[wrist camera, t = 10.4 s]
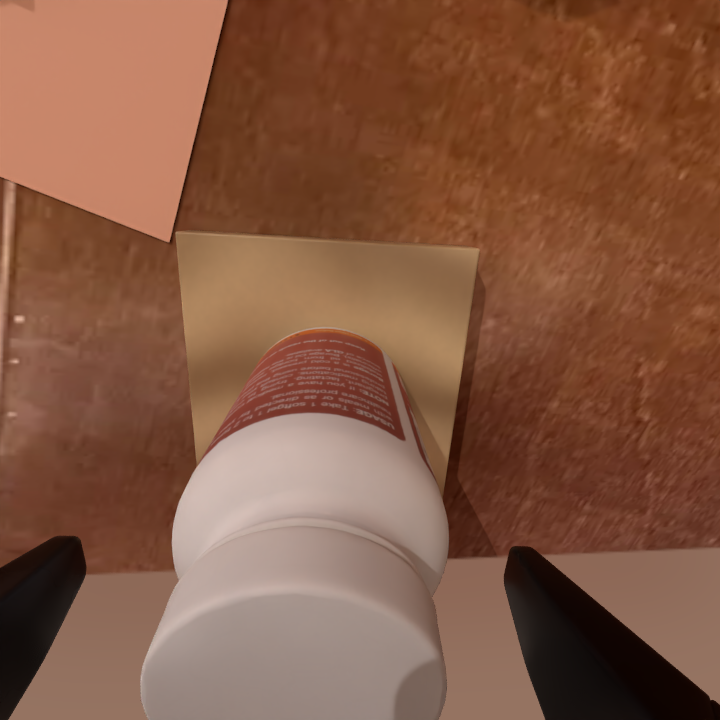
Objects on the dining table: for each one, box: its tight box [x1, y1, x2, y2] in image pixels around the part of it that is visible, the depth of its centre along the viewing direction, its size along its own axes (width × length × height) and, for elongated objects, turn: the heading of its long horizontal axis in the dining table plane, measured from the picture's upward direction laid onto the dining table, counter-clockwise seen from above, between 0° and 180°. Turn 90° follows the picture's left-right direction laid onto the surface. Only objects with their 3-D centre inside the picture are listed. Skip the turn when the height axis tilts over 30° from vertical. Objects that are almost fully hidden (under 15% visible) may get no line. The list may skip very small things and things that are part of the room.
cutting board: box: [176, 230, 480, 499], centre depth 17 cm, size 12×11×2 cm
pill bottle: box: [141, 327, 449, 720], centre depth 11 cm, size 6×6×11 cm
